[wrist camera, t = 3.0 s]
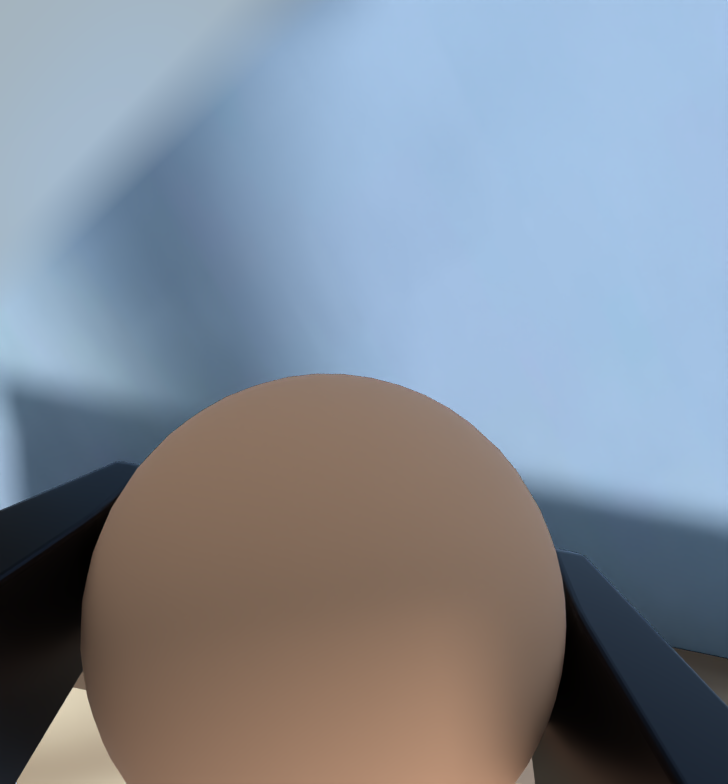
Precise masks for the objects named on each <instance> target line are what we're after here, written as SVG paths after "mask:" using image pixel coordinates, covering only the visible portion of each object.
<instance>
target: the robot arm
mask: <svg viewBox="0 0 728 784" xmlns="http://www.w3.org/2000/svg"><path fill="white" fill-rule="evenodd" d="M139 466H140V465H138V464H133V463H129V462H123V461H119V462H115V463H113V464H110V465H108V466H105V467H103V468H101V469H98V470H96V471H93V472H91V473H89V474H86V475H84V476H81V477H79V478H77V479H74V480H72V481H69V482H67V483H65V484H62V485H60V486H57V487H55V488H53V489H50V490H48V491H45V492H43V493H41V494H38V495H36V496H33V497H31V498H28V499H26V500H24V501H21V502H19V503H16V504H14V505H12V506H9V507H7V508H4V509H2V510H0V784H15V783H16V782H17V780H18V778H19V777H20V775H21V773H22V772H23V770H24V768H25V767H26V765H27V763H28V762H29V760H30V758H31V757H32V755H33V753H34V752H35V750H36V748H37V747H38V745H39V743H40V742H41V740H42V738H43V737H44V735H45V733H46V732H47V730H48V728H49V727H50V725H51V723H52V722H53V720H54V718H55V717H56V715H57V713H58V712H59V710H60V708H61V707H62V705H63V703H64V702H65V700H66V698H67V697H68V695H69V693H70V692H71V690H72V688H73V687H74V685H75V683H76V682H77V680H78V678H79V677H80V675H81V673H82V672H83V666H82V659H81V651H80V644H81V613H82V599H83V594H84V589H85V585H86V580H87V575H88V571H89V566H90V562H91V558H92V553H93V551H94V548H95V546H96V543H97V541H98V539H99V536H100V534H101V531H102V529H103V526H104V524H105V522H106V520H107V517H108V515H109V513H110V510H111V508H112V506H113V505H114V503H115V502H116V500H117V499H118V497H119V496H120V494H121V492H122V491H123V489H124V488H125V486H126V485H127V483H128V482H129V480H130V479H131V477H132V476H133V474H134V473H135V471H136V470H137V468H138V467H139ZM555 550H556V554H557V558H558V562H559V567H560V571H561V575H562V581H563V589H564V596H565V609H566V641H565V654H564V662H563V670H562V676H561V680H560V684H559V688H558V692H557V697H556V700H555V704H554V707H553V710H552V713H551V716H550V719H549V722H548V724H547V726H546V729H545V731H544V733H543V735H542V738H541V740H540V742H539V744H538V747H537V748H536V750H535V752H534V754H533V756H532V763H533V771H534V779H535V784H728V706H727V705H726V704H725V703H724V702H723V701H722V700H721V699H720V698H719V697H718V696H717V694H716V693H715V692H714V691H713V690H712V689H711V688H710V687H709V686H708V685H707V684H706V683H705V682H704V681H703V680H702V679H701V678H700V677H699V676H698V675H697V673H696V672H695V671H694V670H693V669H692V668H691V667H690V666H689V665H688V664H687V663H686V662H685V661H684V660H683V659H682V658H681V657H680V656H679V655H678V654H677V652H676V651H675V650H674V649H673V648H672V647H671V646H670V645H669V644H668V643H667V642H666V641H665V640H664V639H663V638H662V637H661V636H660V635H659V634H658V633H657V631H656V630H655V629H654V628H653V627H652V626H651V625H650V624H649V623H648V622H647V621H646V620H645V619H644V618H643V617H642V616H641V615H640V614H639V613H638V612H637V610H636V609H635V608H634V607H633V606H632V605H631V604H630V603H629V602H628V601H627V600H626V599H625V598H624V597H623V596H622V595H621V594H620V593H619V592H618V591H617V590H616V588H615V587H614V586H613V585H612V584H611V583H610V582H609V581H608V580H607V579H606V578H605V577H604V576H603V575H602V574H601V573H600V572H599V571H598V570H597V569H596V567H595V566H594V565H593V564H592V563H591V562H590V561H589V560H588V559H587V558H586V557H585V556H584V555H582V554H580V553H575V552H570V551H565V550H560V549H555Z"/></svg>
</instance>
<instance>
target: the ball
mask: <svg viewBox="0 0 728 784" xmlns="http://www.w3.org/2000/svg"><path fill="white" fill-rule="evenodd" d="M565 641H566V609H565V596H564V589H563V581H562V575H561V571H560V567H559V562H558V558H557V554H556V550H555V547H554V544H553V541H552V539H551V536H550V533H549V530H548V528H547V525H546V523H545V521H544V518H543V516H542V513H541V511H540V508H539V507H538V505H537V503H536V502H535V500H534V498H533V497H532V495H531V494H530V492H529V490H528V489H527V487H526V485H525V484H524V482H523V480H522V479H521V477H520V475H519V474H518V472H517V471H516V469H515V468H514V467H513V466H512V465H511V463H510V462H509V461H508V460H507V459H506V457H505V456H504V455H503V454H502V452H501V451H500V450H499V449H498V448H497V447H496V446H495V445H494V444H492V443H491V442H490V441H489V440H488V439H487V438H486V437H485V436H484V435H483V434H482V433H481V432H479V431H478V430H477V429H476V428H475V427H474V426H473V425H472V424H471V423H469V422H468V421H467V420H465V419H464V418H462V417H461V416H459V415H458V414H457V413H455V412H454V411H452V410H451V409H450V408H448V407H446V406H444V405H442V404H440V403H439V402H437V401H435V400H433V399H431V398H429V397H427V396H426V395H423V394H421V393H418V392H416V391H413V390H410V389H408V388H405V387H403V386H400V385H397V384H393V383H389V382H385V381H381V380H378V379H374V378H368V377H361V376H353V375H346V374H310V375H301V376H292V377H287V378H282V379H278V380H274V381H270V382H266V383H262V384H259V385H256V386H253V387H250V388H247V389H245V390H242V391H240V392H237V393H235V394H232V395H229V396H227V397H225V398H223V399H222V400H220V401H218V402H216V403H214V404H213V405H211V406H209V407H207V408H206V409H204V410H202V411H201V412H199V413H198V414H196V415H195V416H193V417H192V418H190V419H189V420H187V421H186V422H185V423H184V424H182V425H181V426H180V427H178V428H177V429H176V430H175V431H173V432H172V433H171V434H169V435H168V436H167V437H166V438H165V440H164V441H163V442H162V443H161V444H160V445H159V446H158V447H157V448H156V449H155V450H154V451H153V452H152V453H151V454H150V455H149V456H148V457H147V458H146V459H145V461H144V462H143V463H142V464H141V465H140V466H139V467H138V468H137V470H136V471H135V473H134V474H133V476H132V477H131V479H130V480H129V482H128V483H127V485H126V486H125V488H124V489H123V491H122V492H121V494H120V496H119V497H118V499H117V500H116V502H115V503H114V505H113V506H112V508H111V510H110V513H109V515H108V517H107V520H106V522H105V524H104V526H103V529H102V531H101V534H100V536H99V539H98V541H97V543H96V546H95V548H94V551H93V553H92V558H91V562H90V566H89V571H88V575H87V580H86V585H85V589H84V594H83V599H82V613H81V644H80V651H81V659H82V666H83V674H84V680H85V686H86V692H87V698H88V701H89V705H90V708H91V711H92V714H93V718H94V720H95V723H96V726H97V728H98V731H99V734H100V736H101V739H102V742H103V744H104V746H105V748H106V750H107V752H108V754H109V756H110V759H111V760H112V762H113V763H114V765H115V767H116V768H117V770H118V771H119V773H120V774H121V776H122V777H123V779H124V781H125V782H126V784H515V782H516V781H517V780H518V778H519V777H520V775H521V774H522V772H523V771H524V770H525V768H526V767H527V765H528V763H529V761H530V760H531V758H532V756H533V754H534V752H535V750H536V748H537V747H538V744H539V742H540V740H541V738H542V735H543V733H544V731H545V729H546V726H547V724H548V722H549V719H550V716H551V713H552V710H553V707H554V704H555V700H556V697H557V692H558V688H559V684H560V680H561V676H562V670H563V662H564V654H565Z"/></svg>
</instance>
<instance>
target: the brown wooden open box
mask: <svg viewBox="0 0 728 784" xmlns="http://www.w3.org/2000/svg"><path fill="white" fill-rule="evenodd" d="M672 648H673V647H672ZM673 649H674V650H675V651H676V652H677V654H678V655H679V656H680V657H681V658H682V659H683V660H684V661H685V662H686V663H687V664H688V665H689V666H690V667H691V668H692V669H693V670H694V671H695V672H696V673H697V675H698V676H699V677H700V678H701V679H702V680H703V681H704V682H705V683H706V684H707V685H708V686H709V687H710V688H711V689H712V690H713V691H714V692H715V693H716V694H717V696H718V697H719V698H720V699H721V700H722V701H723V702H724V703H725V704H726V705H727V706H728V659H726V658H721V657H717V656H712V655H707V654H702V653H697V652H692V651H688V650H683V649H678V648H673ZM17 784H126V782H125V781H124V779H123V777H122V776H121V774H120V773H119V771H118V770H117V768H116V767H115V765H114V763H113V762H112V760H111V759H110V756H109V754H108V752H107V750H106V748H105V746H104V744H103V742H102V739H101V736H100V734H99V731H98V728H97V726H96V723H95V720H94V718H93V714H92V711H91V708H90V705H89V701H88V698H87V692H86V686H85V680H84V674H83V672H82V673H81V675H80V677H79V678H78V680H77V682H76V683H75V685H74V687H73V688H72V690H71V692H70V693H69V695H68V697H67V698H66V700H65V702H64V703H63V705H62V707H61V708H60V710H59V712H58V713H57V715H56V717H55V718H54V720H53V722H52V723H51V725H50V727H49V728H48V730H47V732H46V733H45V735H44V737H43V738H42V740H41V742H40V743H39V745H38V747H37V748H36V750H35V752H34V753H33V755H32V757H31V758H30V760H29V762H28V763H27V765H26V767H25V768H24V770H23V772H22V773H21V775H20V777H19V778H18V780H17ZM515 784H535V779H534V771H533V763H532V758H531V760H530V761H529V763H528V765H527V767H526V768H525V770H524V771H523V772H522V774H521V775H520V777H519V778H518V780H517V781H516V782H515Z"/></svg>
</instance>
